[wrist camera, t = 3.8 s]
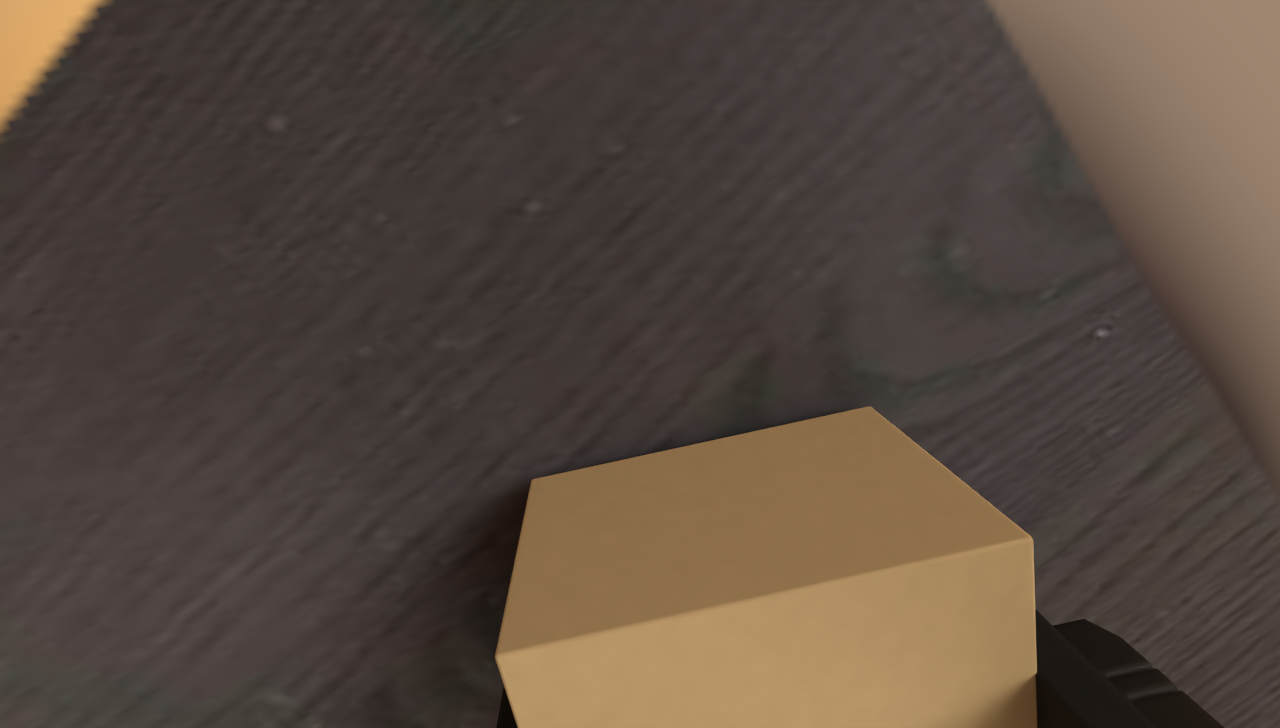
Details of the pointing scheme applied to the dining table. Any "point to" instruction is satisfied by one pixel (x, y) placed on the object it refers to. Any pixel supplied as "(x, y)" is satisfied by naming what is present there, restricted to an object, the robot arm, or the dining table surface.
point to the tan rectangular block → (771, 590)
